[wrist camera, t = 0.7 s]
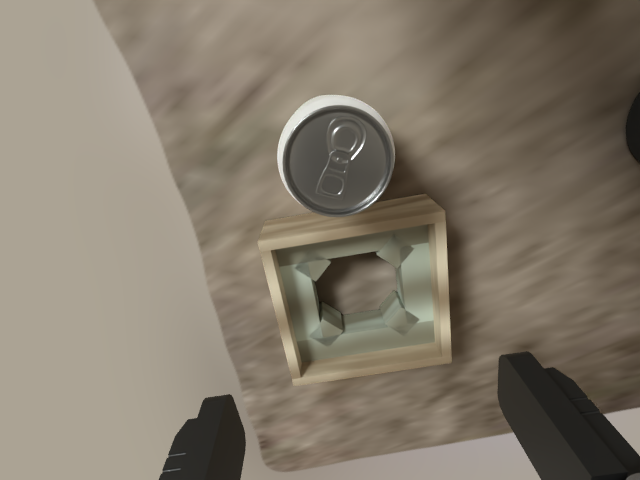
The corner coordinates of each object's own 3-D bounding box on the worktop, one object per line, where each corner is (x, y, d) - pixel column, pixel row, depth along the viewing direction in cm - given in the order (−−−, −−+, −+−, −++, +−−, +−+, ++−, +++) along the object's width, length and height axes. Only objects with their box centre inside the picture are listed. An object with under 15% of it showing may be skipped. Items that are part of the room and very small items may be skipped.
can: (378, 107, 29) (421, 116, 18) (354, 186, 31) (378, 237, 20) (298, 84, 28) (290, 77, 17) (279, 166, 30) (261, 208, 19)
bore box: (265, 220, 32) (257, 242, 27) (425, 193, 31) (445, 211, 27) (296, 349, 37) (293, 386, 33) (433, 328, 37) (451, 362, 32)
